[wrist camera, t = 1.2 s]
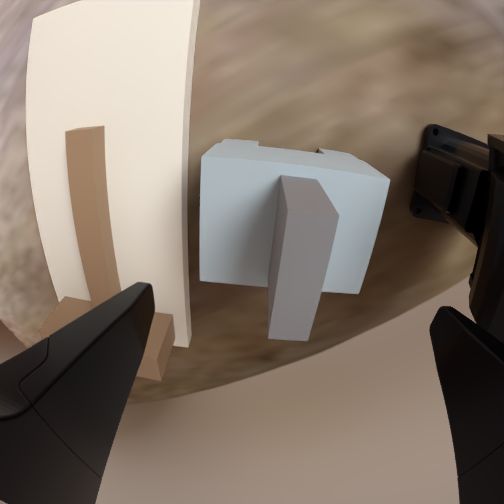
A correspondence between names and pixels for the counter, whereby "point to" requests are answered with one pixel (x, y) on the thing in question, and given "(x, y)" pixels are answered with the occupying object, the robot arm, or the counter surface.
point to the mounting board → (114, 158)
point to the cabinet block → (288, 225)
